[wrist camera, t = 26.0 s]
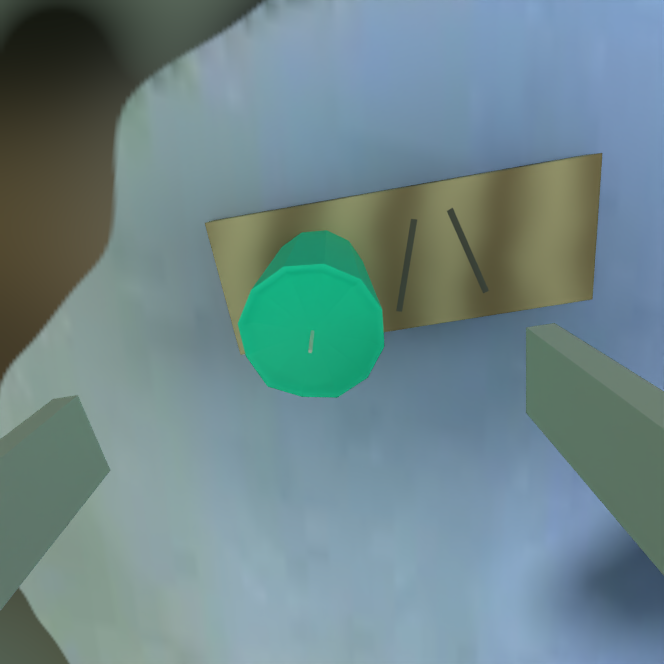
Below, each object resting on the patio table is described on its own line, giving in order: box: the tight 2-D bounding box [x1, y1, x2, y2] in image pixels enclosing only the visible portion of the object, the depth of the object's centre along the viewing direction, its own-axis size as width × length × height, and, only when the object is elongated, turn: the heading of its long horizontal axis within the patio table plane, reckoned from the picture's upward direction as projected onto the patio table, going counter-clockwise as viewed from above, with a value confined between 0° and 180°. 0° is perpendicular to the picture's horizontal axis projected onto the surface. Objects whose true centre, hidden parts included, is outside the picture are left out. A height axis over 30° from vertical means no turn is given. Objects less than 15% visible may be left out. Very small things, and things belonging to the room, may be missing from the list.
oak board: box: [205, 153, 602, 355], centre depth 26 cm, size 24×9×2 cm, turn 99°
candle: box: [238, 230, 384, 398], centre depth 20 cm, size 6×6×12 cm
